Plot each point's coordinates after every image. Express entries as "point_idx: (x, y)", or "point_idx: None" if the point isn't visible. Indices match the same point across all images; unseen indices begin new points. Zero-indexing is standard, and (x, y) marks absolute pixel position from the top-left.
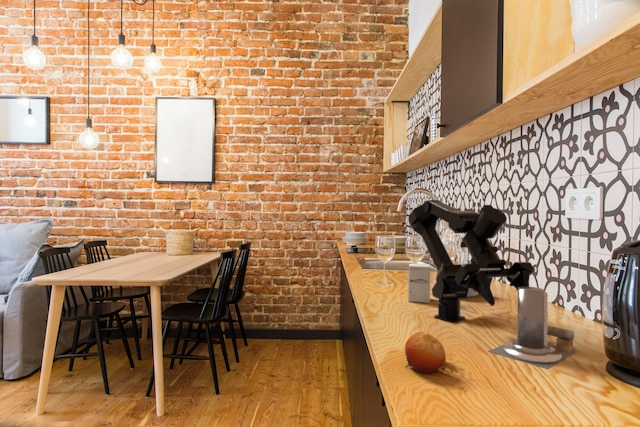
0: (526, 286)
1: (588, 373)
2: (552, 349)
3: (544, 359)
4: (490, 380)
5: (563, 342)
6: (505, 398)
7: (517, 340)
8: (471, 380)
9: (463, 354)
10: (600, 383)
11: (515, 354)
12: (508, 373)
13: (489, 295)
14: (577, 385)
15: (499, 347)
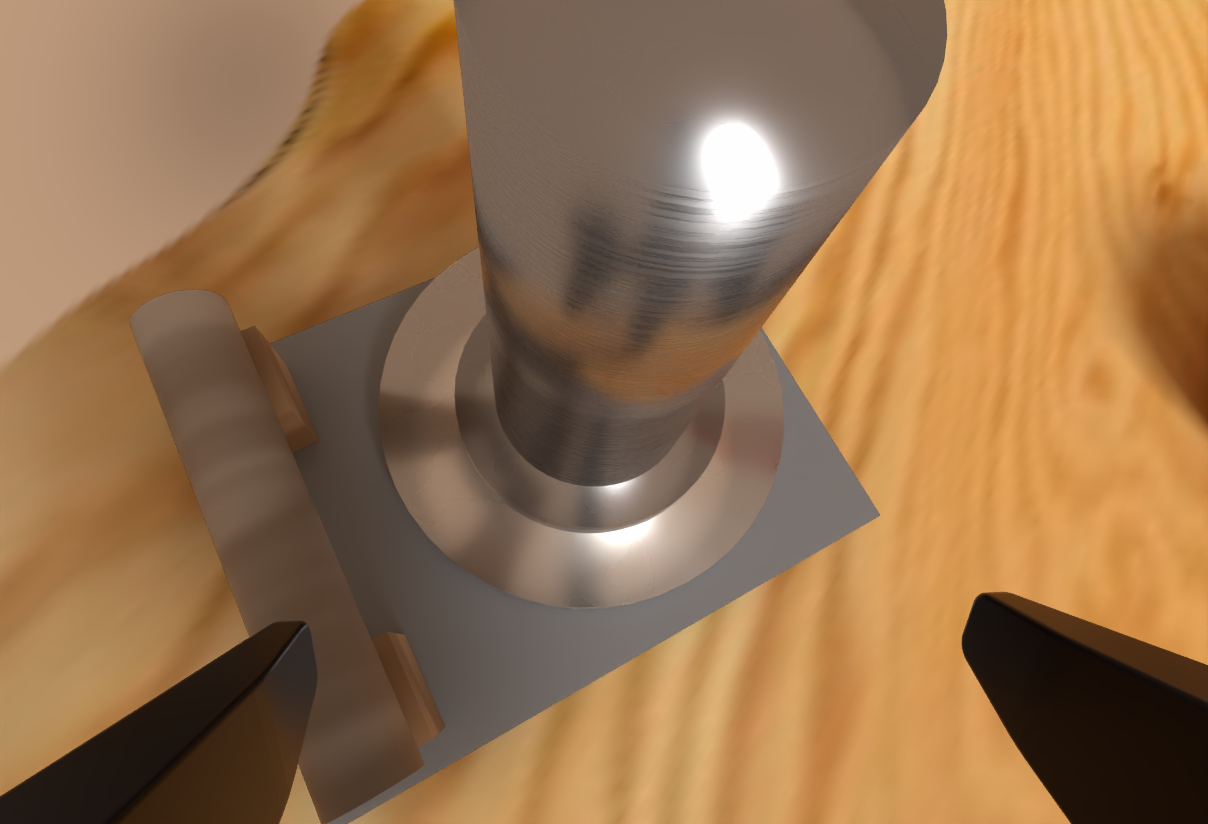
0: (85, 798)
1: (404, 175)
2: (415, 373)
3: None
4: (1000, 228)
5: (277, 369)
6: (1011, 80)
7: (624, 512)
8: (1095, 249)
9: None
10: (461, 78)
11: (766, 347)
12: (863, 275)
13: (1153, 650)
14: None
15: (745, 576)
